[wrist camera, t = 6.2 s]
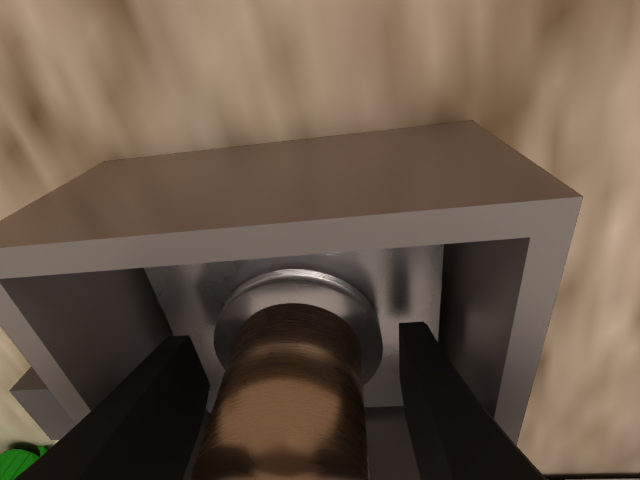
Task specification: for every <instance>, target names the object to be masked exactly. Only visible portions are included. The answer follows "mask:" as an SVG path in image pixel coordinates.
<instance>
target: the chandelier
mask: <svg viewBox="0 0 640 480" xmlns="http://www.w3.org/2000/svg"><path fill="white" fill-rule="evenodd" d="M36 448H38V449H39V450H40V457H41V456H42V455H44V454H45V453H46V452H47V451H48V449H46V448H45V447H44V446H39V447H36ZM28 455H29V456H28ZM40 457H39V456H37V455H36V454H34V453H32V452H29V451H25V450H21V449H11V450H7V451H5V452H4V453H2V454H1V455H0V480H14V479H15V478H16V477H17V476H18V475H20V474H21V473H22V472H23V471H25V470H26V469H27V468H28V467H29V466H31V465H32V464H33V463H34V462H35V461H36V460H38V459H39V458H40ZM26 458H27V459H26ZM23 462H24V463H23Z"/></svg>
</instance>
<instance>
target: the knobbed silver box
mask: <svg viewBox="0 0 640 480" xmlns="http://www.w3.org/2000/svg"><path fill="white" fill-rule="evenodd" d="M582 199H583V196H582V195H580V194H579V193H577V192H576V191H574V190H573V189H572V188H570V187H569V186H567V185H566V184H564V183H563V182H561V181H560V180H559V179H557V178H556V177H554V176H553V175H551V174H550V173H548V172H547V171H545V170H544V169H543V168H541V167H540V166H538V165H537V164H535V163H534V162H532V161H531V160H529V159H528V158H527V157H525V156H524V155H522V154H521V153H519V152H518V151H516V150H515V149H514V148H512V147H511V146H509V145H508V144H506V143H505V142H503V141H502V140H500V139H499V138H498V137H496V136H495V135H493V134H492V133H490V132H489V131H487V130H486V129H484V128H483V127H482V126H480V125H479V124H477V123H476V122H474V121H473V120H471V121H462V122H453V123H444V124H435V125H426V126H417V127H408V128H399V129H390V130H381V131H372V132H363V133H354V134H345V135H337V136H328V137H319V138H310V139H301V140H292V141H283V142H274V143H265V144H256V145H247V146H238V147H229V148H220V149H211V150H202V151H193V152H184V153H175V154H166V155H157V156H148V157H139V158H130V159H121V160H112V161H104V162H102V163H101V164H99V165H97V166H95V167H94V168H92V169H90V170H88V171H87V172H85V173H83V174H81V175H80V176H78V177H76V178H74V179H73V180H71V181H69V182H67V183H66V184H64V185H62V186H60V187H59V188H57V189H55V190H53V191H52V192H50V193H48V194H46V195H45V196H43V197H41V198H39V199H38V200H36V201H34V202H32V203H31V204H29V205H27V206H25V207H24V208H22V209H20V210H18V211H17V212H15V213H13V214H11V215H10V216H8V217H6V218H4V219H3V220H1V221H0V326H1V327H2V329H3V330H4V331H5V333H6V334H7V335H8V336H9V338H10V339H11V340H12V342H13V343H14V344H15V346H16V347H17V348H18V349H19V351H20V352H21V353H22V355H23V356H24V357H25V359H26V360H27V361H28V362H29V364H30V365H31V368H30V369H29V370H28V371H27V372H26V373H25V374H24V375H23V376H22V377H21V379H20V380H19V381H18V382H17V383H16V384H15V385H14V386H13V387H12V389H11V390H10V392H11V394H12V395H13V396H14V397H15V398H16V399H17V401H18V402H19V403H20V404H21V405H22V406H23V408H24V409H25V410H26V411H27V412H28V413H29V415H30V416H31V417H32V418H33V419H34V420H35V422H36V423H37V424H38V425H39V426H40V427H41V429H42V430H43V431H44V432H45V433H46V434H47V436H48V437H49V438H50V439H51V440H60V439H61V438H63V437H64V436H65V435H66V434H67V433H68V432H69V431H70V430H71V429H72V428H74V427H75V426H76V425H77V424H78V423H79V422H80V421H81V420H82V419H83V418H84V417H86V416H87V415H88V414H89V413H90V412H91V411H92V410H93V409H94V408H95V407H96V406H97V405H98V404H100V403H101V402H102V401H103V400H104V399H105V398H106V397H107V396H108V395H109V394H110V393H111V392H112V391H113V390H114V389H115V388H116V387H117V386H118V385H119V384H120V383H121V382H122V381H123V380H124V379H125V378H126V377H127V376H128V375H129V374H130V373H131V372H132V371H133V370H134V369H135V368H136V367H137V366H138V365H139V364H140V363H141V362H142V361H143V360H144V359H145V358H146V357H147V356H148V355H149V354H150V353H151V352H152V351H153V350H154V349H155V348H156V347H157V346H158V345H160V344H161V343H162V342H163V341H164V340H165V339H166V338H167V337H168V336H174V335H173V332H172V330H171V328H170V326H169V323H168V321H167V319H166V317H165V314H164V312H163V310H162V308H161V305H160V303H159V301H158V299H157V297H156V294H155V292H154V290H153V288H152V285H151V283H150V281H149V279H148V276H147V274H146V272H145V270H144V268H146V267H158V266H171V265H184V264H197V263H209V262H222V261H235V260H247V259H260V258H273V257H286V256H298V255H311V254H324V253H337V252H349V251H362V250H375V249H387V248H400V247H413V246H426V245H438V244H444V250H443V266H442V283H441V299H440V315H439V332H438V343H439V345H440V347H441V348H442V350H443V351H444V353H445V354H446V356H447V357H448V359H449V360H450V362H451V363H452V365H453V366H454V367H455V369H456V370H457V372H458V373H459V374H460V376H461V377H462V379H463V380H464V381H465V383H466V384H467V385H468V387H469V388H470V389H471V391H472V392H473V393H474V395H475V396H476V397H477V399H478V400H479V401H480V402H481V404H482V405H483V406H484V407H485V409H486V410H487V411H488V413H489V414H490V415H491V416H492V417H493V419H494V420H495V421H496V422H497V423H498V425H499V426H500V427H501V428H502V429H503V431H504V432H505V433H506V434H507V435H508V437H509V438H510V439H511V440H512V441H513V442H514V444H515V445H517V441H518V438H519V434H520V430H521V426H522V423H523V419H524V415H525V411H526V408H527V404H528V400H529V397H530V393H531V389H532V385H533V382H534V378H535V374H536V370H537V367H538V363H539V359H540V356H541V352H542V348H543V344H544V341H545V337H546V333H547V330H548V326H549V322H550V318H551V315H552V311H553V307H554V303H555V300H556V296H557V292H558V289H559V285H560V281H561V277H562V274H563V270H564V266H565V262H566V259H567V255H568V251H569V248H570V244H571V240H572V236H573V233H574V229H575V225H576V222H577V218H578V214H579V210H580V207H581V203H582ZM210 415H211V413H208V410H207V408H206V409H205V413H204V417H203V421H202V425H201V428H200V431H199V434H198V437H197V440H196V443H195V445H194V448H193V451H192V454H191V457H190V460H189V462H188V465H187V468H186V471H185V474H184V476H183V479H182V480H192V479H191V476H192V470H193V467H194V464H195V461H196V458H197V455H198V452H199V448H200V445H201V442H202V439H203V436H204V433H205V430H206V427H207V424H208V421H209V418H210ZM365 420H366V435H367V449H368V463H369V478H370V480H421V479H420V475H419V470H418V466H417V462H416V458H415V454H414V450H413V446H412V442H411V438H410V434H409V430H408V426H407V422H406V417H405V411H404V406H386V407H365Z"/></svg>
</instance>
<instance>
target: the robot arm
mask: <svg viewBox="0 0 640 480" xmlns="http://www.w3.org/2000/svg"><path fill="white" fill-rule="evenodd" d="M399 375H400V384H401V391H402V398H403V404H404V411H405V417H406V422H407V426H408V430H409V434H410V438H411V442H412V446H413V450H414V454H415V458H416V462H417V466H418V470H419V475H420V479H421V480H547V479H546V478H545V477H544V476H543V475H542V474H541V473H540V471H539V470H538V469H537V468H536V467H535V466H534V465H533V464H532V463H531V462H530V461H529V459H528V458H527V457H526V456H525V455H524V454H523V453H522V452H521V451H520V449H519V448H518V447H517V446H516V445H515V444H514V442H513V441H512V440H511V439H510V438H509V437H508V435H507V434H506V433H505V432H504V431H503V429H502V428H501V427H500V426H499V425H498V423H497V422H496V421H495V420H494V419H493V417H492V416H491V415H490V414H489V413H488V411H487V410H486V409H485V407H484V406H483V405H482V404H481V402H480V401H479V400H478V399H477V397H476V396H475V395H474V393H473V392H472V391H471V389H470V388H469V387H468V385H467V384H466V383H465V381H464V380H463V379H462V377H461V376H460V374H459V373H458V372H457V370H456V369H455V367H454V366H453V365H452V363H451V362H450V360H449V359H448V357H447V356H446V354H445V353H444V351H443V350H442V348H441V347H440V345H439V343H438V342H437V340H436V339H435V337H434V335H433V334H432V332H431V330H430V328H429V327H428V325H427V324H426V323H425V322H407V323H399ZM209 390H210V383H209V380H208V378H207V376H206V373H205V371H204V369H203V366H202V364H201V361H200V359H199V357H198V354H197V352H196V349H195V347H194V345H193V342H192V340H191V337H190V335H184V336H168V337H167V338H166V339H165V340H164V341H163V342H162V343H161V344H160V345H158V346H157V347H156V348H155V349H154V350H153V351H152V352H151V353H150V354H149V355H148V356H147V357H146V358H145V359H144V360H143V361H142V362H141V363H140V364H139V365H138V366H137V367H136V368H135V369H134V370H133V371H132V372H131V373H130V374H129V375H128V376H127V377H126V378H125V379H124V380H123V381H122V382H121V383H120V384H119V385H118V386H117V387H116V388H115V389H114V390H113V391H112V392H111V393H110V394H109V395H108V396H107V397H106V398H105V399H104V400H103V401H102V402H101V403H100V404H98V405H97V406H96V407H95V408H94V409H93V410H92V411H91V412H90V413H89V414H88V415H87V416H86V417H84V418H83V419H82V420H81V421H80V422H79V423H78V424H77V425H76V426H75V427H74V428H72V429H71V430H70V431H69V432H68V433H67V434H66V435H65V436H64V437H63V438H61V439H60V440H59V441H58V442H57V443H56V444H55V445H54V446H53V447H52V448H50V449H49V450H48V451H47V452H46V453H45V454H44V455H42V456H41V457H40V458H39V459H38V460H36V461H35V462H34V463H33V464H32V465H31V466H29V467H28V468H27V469H26V470H25V471H23V472H22V473H21V474H20V475H18V476H17V477H16V478H15V479H14V480H182V479H183V476H184V474H185V471H186V468H187V465H188V462H189V460H190V457H191V454H192V451H193V448H194V445H195V443H196V440H197V437H198V434H199V431H200V428H201V425H202V421H203V417H204V413H205V409H206V404H207V400H208V395H209ZM567 480H640V478H632V479H567Z"/></svg>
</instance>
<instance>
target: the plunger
mask: <svg viewBox="0 0 640 480" xmlns="http://www.w3.org/2000/svg"><path fill="white" fill-rule="evenodd" d="M443 250H444V244H438V245H426V246H413V247H400V248H387V249H375V250H362V251H349V252H337V253H324V254H311V255H298V256H286V257H273V258H260V259H247V260H235V261H222V262H209V263H197V264H184V265H171V266H158V267H146V268H144V270H145V272H146V274H147V276H148V279H149V281H150V283H151V285H152V288H153V290H154V292H155V294H156V297H157V299H158V301H159V303H160V305H161V308H162V310H163V312H164V314H165V317H166V319H167V321H168V323H169V326H170V328H171V330H172V332H173V335H174V336H184V335H190V337H191V340H192V342H193V345H194V347H195V349H196V352H197V354H198V357H199V359H200V361H201V364H202V366H203V369H204V371H205V373H206V376H207V378H208V380H209V383H210V390H209V395H208V400H207V404H206V408H207V410H208V413H211V415H210V418H209V421H208V424H207V427H206V430H205V433H204V436H203V439H202V442H201V445H200V448H199V452H198V455H197V458H196V461H195V464H194V467H193V470H192V476H191V479H192V480H370V478H369V463H368V449H367V435H366V420H365V407H386V406H404V404H403V398H402V391H401V384H400V375H399V323H407V322H425V323H426V324H427V325H428V327H429V328H430V330H431V332H432V334H433V335H434V337H435V339H436V340H437V342H438V332H439V315H440V299H441V283H442V266H443Z"/></svg>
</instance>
